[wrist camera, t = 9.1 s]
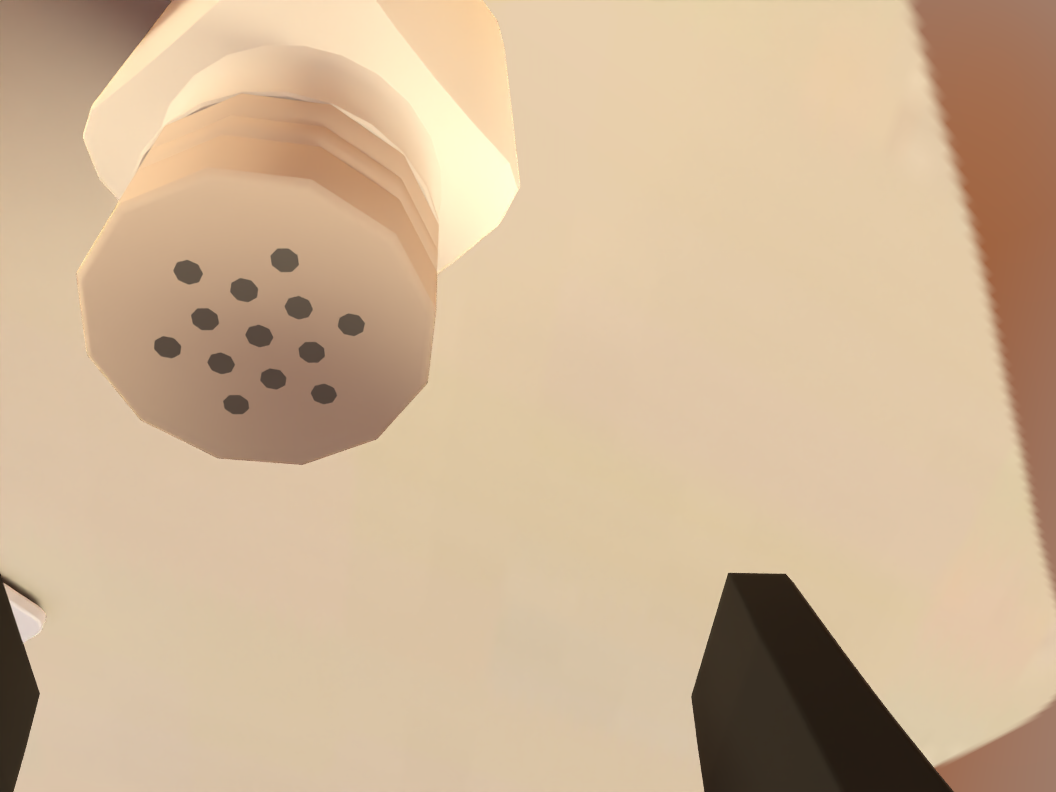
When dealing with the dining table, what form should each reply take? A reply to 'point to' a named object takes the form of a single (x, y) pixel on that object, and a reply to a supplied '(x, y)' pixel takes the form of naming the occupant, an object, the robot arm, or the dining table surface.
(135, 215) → the salt shaker
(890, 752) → the robot arm
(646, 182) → the dining table surface
